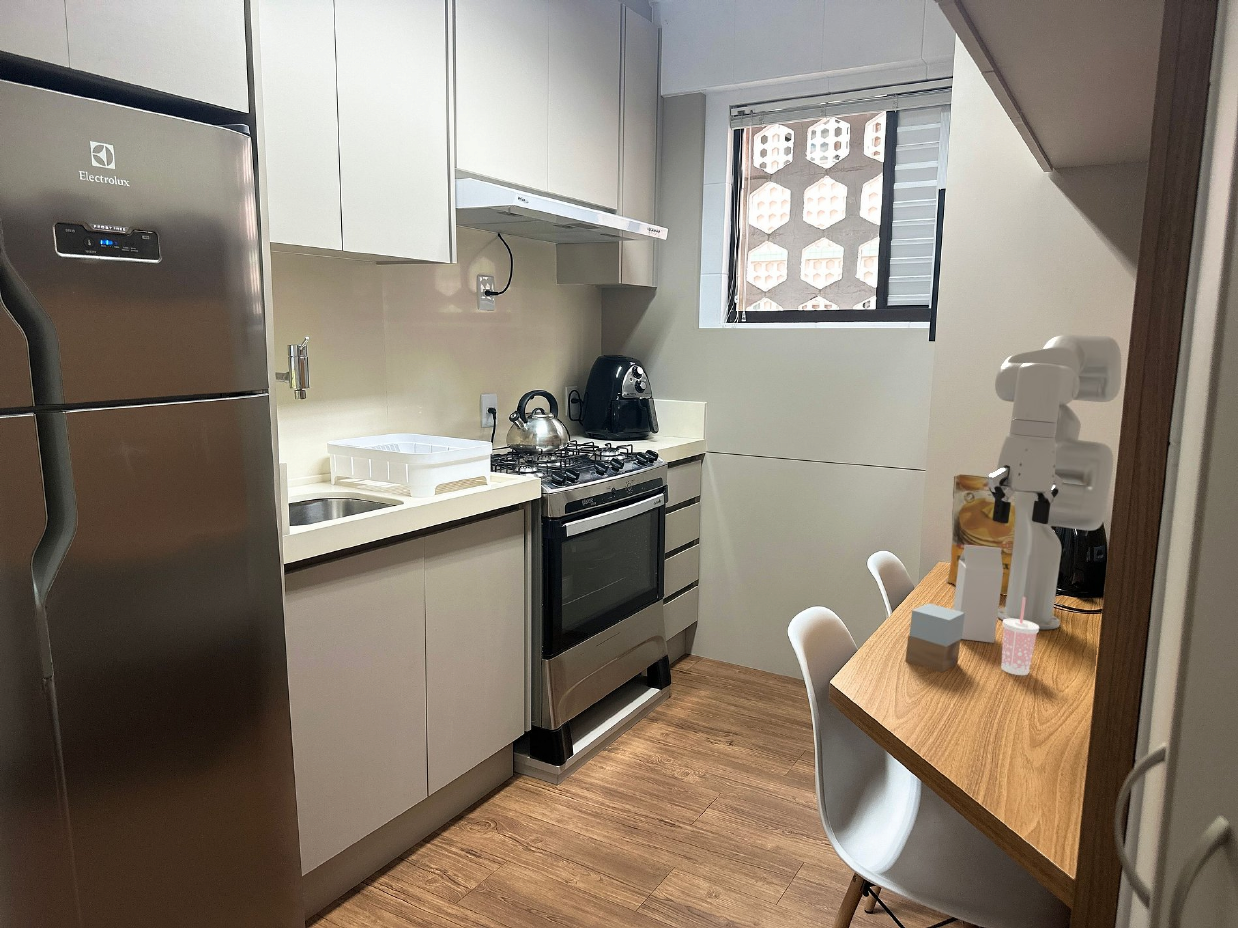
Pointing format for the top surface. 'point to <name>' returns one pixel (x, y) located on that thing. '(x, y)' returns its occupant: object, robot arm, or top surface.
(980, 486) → the pancake mix bag
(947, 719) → the top surface
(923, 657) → the bottom block
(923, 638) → the top block
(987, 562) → the milk carton
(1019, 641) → the beverage cup
